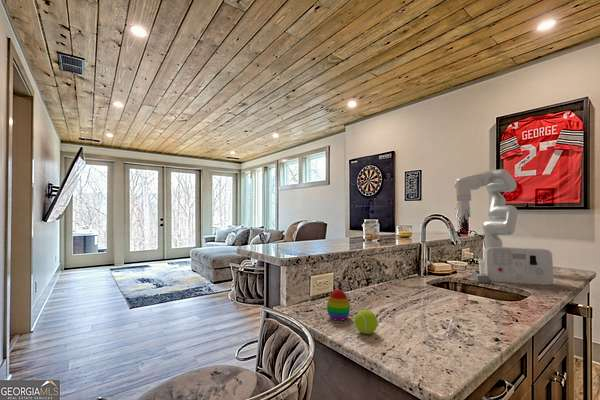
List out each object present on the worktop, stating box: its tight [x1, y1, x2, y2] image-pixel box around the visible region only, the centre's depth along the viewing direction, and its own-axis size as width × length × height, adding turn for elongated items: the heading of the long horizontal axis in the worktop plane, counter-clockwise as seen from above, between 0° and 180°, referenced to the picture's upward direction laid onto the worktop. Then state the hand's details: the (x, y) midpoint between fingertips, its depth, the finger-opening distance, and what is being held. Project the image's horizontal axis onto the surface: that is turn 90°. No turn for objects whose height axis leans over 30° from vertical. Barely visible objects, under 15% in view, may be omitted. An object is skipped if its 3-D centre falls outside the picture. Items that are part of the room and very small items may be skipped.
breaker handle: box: [477, 260, 485, 276], centre depth 153 cm, size 3×2×9 cm
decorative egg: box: [326, 288, 351, 321], centre depth 103 cm, size 8×8×10 cm
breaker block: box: [471, 269, 490, 284], centre depth 158 cm, size 15×5×4 cm, turn 160°
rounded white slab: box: [483, 246, 554, 286], centre depth 151 cm, size 29×8×18 cm, turn 69°
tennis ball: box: [354, 309, 378, 335], centre depth 90 cm, size 7×7×7 cm
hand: (465, 229), depth 170 cm, fingers closed
